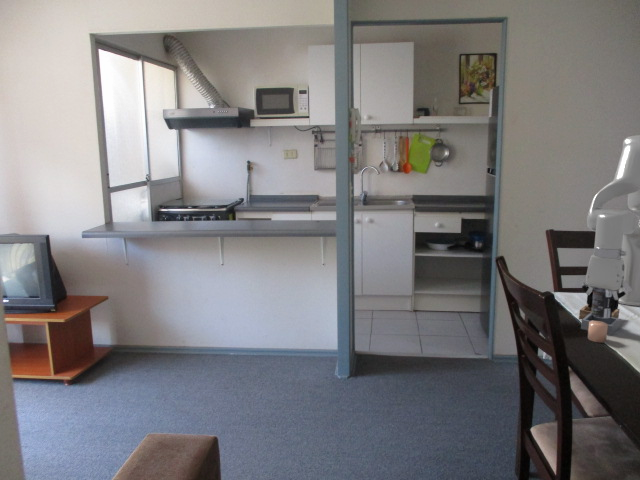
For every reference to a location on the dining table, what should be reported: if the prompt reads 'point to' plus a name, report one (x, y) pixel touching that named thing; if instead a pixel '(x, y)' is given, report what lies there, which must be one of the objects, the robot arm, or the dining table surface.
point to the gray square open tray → (612, 322)
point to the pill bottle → (601, 303)
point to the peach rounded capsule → (597, 331)
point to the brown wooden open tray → (587, 310)
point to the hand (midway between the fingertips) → (601, 308)
